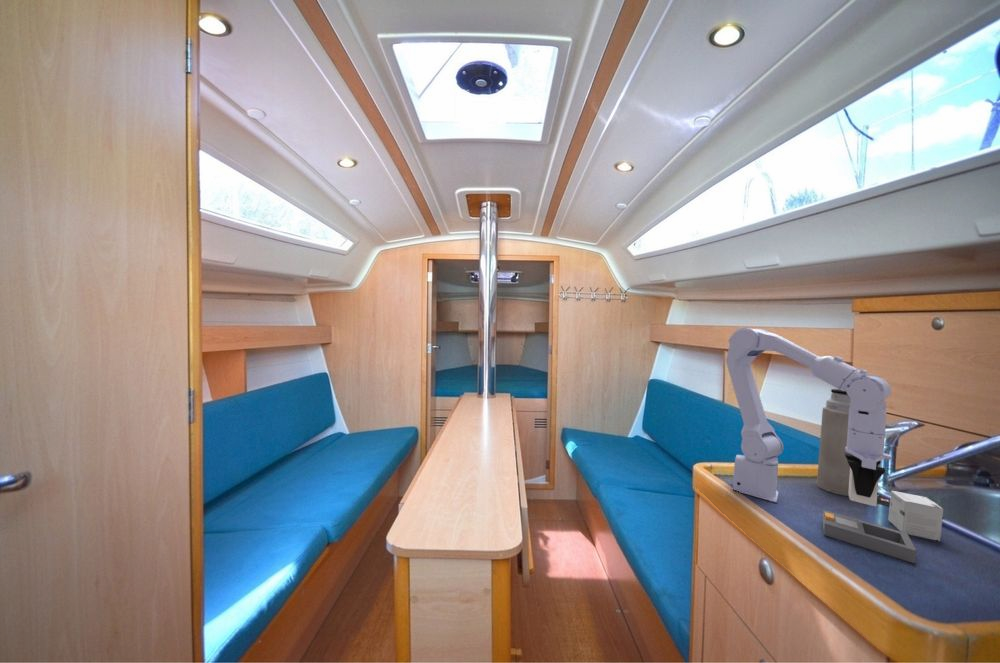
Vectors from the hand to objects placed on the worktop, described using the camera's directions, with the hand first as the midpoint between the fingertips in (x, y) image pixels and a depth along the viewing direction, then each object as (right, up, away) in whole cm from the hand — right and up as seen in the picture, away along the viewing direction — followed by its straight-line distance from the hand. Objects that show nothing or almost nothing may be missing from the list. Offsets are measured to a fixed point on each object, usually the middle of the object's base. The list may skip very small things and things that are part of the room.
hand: (861, 492), depth 79 cm
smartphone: (+24, -10, +15) cm, 30 cm away
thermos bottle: (+15, -9, +22) cm, 28 cm away
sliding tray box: (-3, -9, -3) cm, 10 cm away
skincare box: (+13, -10, +2) cm, 17 cm away
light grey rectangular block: (0, -2, 0) cm, 2 cm away
